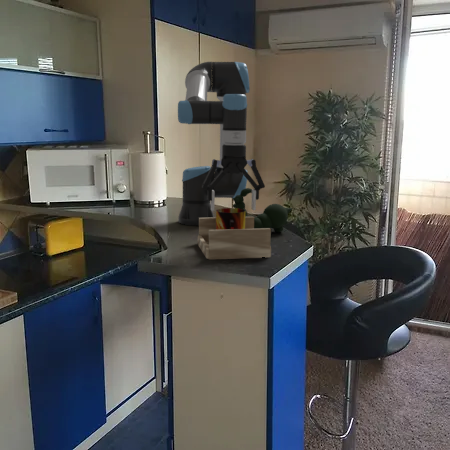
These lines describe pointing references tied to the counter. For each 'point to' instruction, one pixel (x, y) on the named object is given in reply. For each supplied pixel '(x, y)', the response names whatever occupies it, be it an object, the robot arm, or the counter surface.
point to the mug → (230, 218)
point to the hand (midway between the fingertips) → (233, 210)
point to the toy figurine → (265, 213)
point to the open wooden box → (233, 240)
